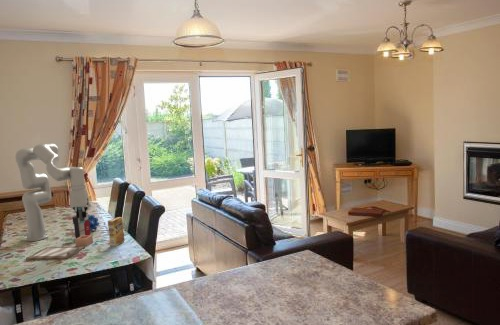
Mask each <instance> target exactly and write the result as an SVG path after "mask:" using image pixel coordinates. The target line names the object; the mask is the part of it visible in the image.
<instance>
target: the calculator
mask: <svg viewBox="0 0 500 325" xmlns="http://www.w3.org/2000/svg"><path fill="white" fill-rule="evenodd" d="M86 214H87V216H86V218H85V223H80V222H79V218H77V216H76V215H75V216H72V224H73V227H74V235H75V239H76V238H78V237H80V236H86V235H91V231H90V226H89V220H88V214H89V213H87V212H86Z"/></svg>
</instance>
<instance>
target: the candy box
mask: <svg viewBox="0 0 500 325" xmlns="http://www.w3.org/2000/svg"><path fill="white" fill-rule="evenodd" d="M107 228H108V236H109V237H108V238H109V246H111V247H112V246H113V247H116V246H118V245H121V244H122V243H124V241H125V231H124V223H123V217H122V216H116V217H114V218H112V219H109V220H107Z"/></svg>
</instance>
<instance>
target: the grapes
mask: <svg viewBox="0 0 500 325" xmlns="http://www.w3.org/2000/svg"><path fill="white" fill-rule="evenodd" d="M88 220H89V226H90V232H92V231H93V230H95V231H96V230H97V229H98V226H100V223H99V218H98V217H96V216H95V214H91V215H90V214H89V213H88Z"/></svg>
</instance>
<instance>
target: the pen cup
mask: <svg viewBox="0 0 500 325" xmlns="http://www.w3.org/2000/svg"><path fill="white" fill-rule="evenodd" d="M74 241H75V247H88V246H90V245H92V244H93V243H94V239H93V235H92V234H90V235H86V236H80V237H78V238H76V237H75V239H74Z"/></svg>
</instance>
